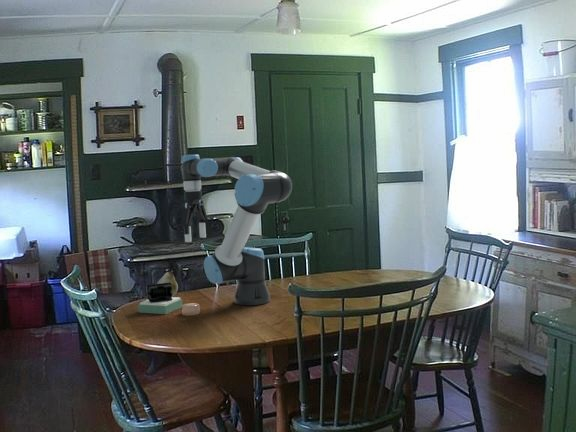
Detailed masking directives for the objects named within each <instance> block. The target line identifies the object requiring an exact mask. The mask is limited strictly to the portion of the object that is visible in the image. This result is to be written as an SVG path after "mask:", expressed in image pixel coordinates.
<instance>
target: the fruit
mask: <svg viewBox="0 0 576 432" xmlns="http://www.w3.org/2000/svg"><path fill="white" fill-rule="evenodd" d="M173 272H174V270H170V271H167V272H166V273H164V274H163V276H162V277H161V278H160V279H158V281H157V283H156V284H161V283H171V286H172V294H173V295H172V297H176V294H177V292H178V291H179V286H178V285H179V284H178V282H177V280H176V278H175V276H174V273H173Z"/></svg>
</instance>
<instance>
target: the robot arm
mask: <svg viewBox="0 0 576 432" xmlns="http://www.w3.org/2000/svg"><path fill="white" fill-rule="evenodd" d="M181 166H182V168H181V169H182V180H183V183H182V185H183V190H184V192H183V194H184V195H183V196H184V197H183V199H184V201H187V202H183V205H182V206H183V207H182V215H181V221H180V226H181V227H183V230H184V231H183V233H184V243H192V227H191V222H192V219H193V216H194V214H195V215H196V217H197V219H198V221H199V223H198V232H199V238H203V239H204V238H207V232H206V231H207V230H206V223H208V219H209V218H208V215H207V213H206V212H207V211H206V209H205V206H204V200H202V199H203V192H202V180H201V179H202V178H211V177H219V176H229V177H232V178H235V179H237V181H236V183H235V185H234V191H235V192H234V193H233V194H234V197H235V202H236V204H237V208H236V210H235V213H234V214H233V216H232V219H231V221H230V224H229V227H228V229H227V231H226V233H225V236H224V239H223V240H222V243H221V245H218V246H217V247H216V248H215V250H214V251H213V252H214V253H213V254H212V255H208V256H206V257H205V258H204V261H203V268H204V273H205V275H206V277H207V278H206V279H207V280H208V281H209V282H210V283H212V284H216V285H217V284H223V283H224V284H225V283H228V282H234V281H237V287H236V290H235V294H234V298H233V300H234V304H236V305H239V306H258V305H265V304H267V303H270V301H271V295H270V291H269V289H268V286H267V284H266V270H265V269H266V268H265V267H266V266H265V259H266V258H265V254H264V250H263V249H262V248H259V247H248V246H247V247H246V246H245V245H246V244H247V241H248V240H249V237H250V235H251V233H252V231H253V228H254V226H255V224H256V221H257V219H258V217H259V215H262V214H263V213H265V211H266V210H267V207H268V205H269V204H275V203H277V204H278V203H280V202H283V201H286V200H287V199H288V198H289V197H290V195H291V194H292V191H293V182H292V179H291V177H290V176H289V175H288V174H287V173H284V172H282V171H280V170H279V171H278V170H275V169H272V170H268V169H265V168H262V167H259V166H257V165H253V164H251V163H248V162H245V161H243V160H242V158H241V157H240V156H239V157H237V156H229V157H215V158H214V157H212V158H211V157H210V158H200V155H199V154H183V155H182V157H181Z"/></svg>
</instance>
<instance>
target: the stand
mask: <svg viewBox="0 0 576 432" xmlns="http://www.w3.org/2000/svg"><path fill="white" fill-rule="evenodd" d="M171 298H172V301H164V302H155V303H150V301H149V300H148V299H146V300H143V301H141V302H139V304H138V305H137V308H138V311H137V312H138V313H141V314H156V315H157V314H158V315H167V314H170V313H171V312H174V311H176V310H179V309H182V305H184V304H183V299H182V298H181V297H179V296H177V297H176V296H173V297H171Z"/></svg>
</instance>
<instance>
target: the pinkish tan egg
mask: <svg viewBox="0 0 576 432" xmlns="http://www.w3.org/2000/svg"><path fill="white" fill-rule="evenodd" d="M200 312H201V308H200V304H199V303H197V302H191V303H184V304H183V305H182V307H181V315H182V316H188V317H189V316H190V317H191V316H196V315H200Z"/></svg>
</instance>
